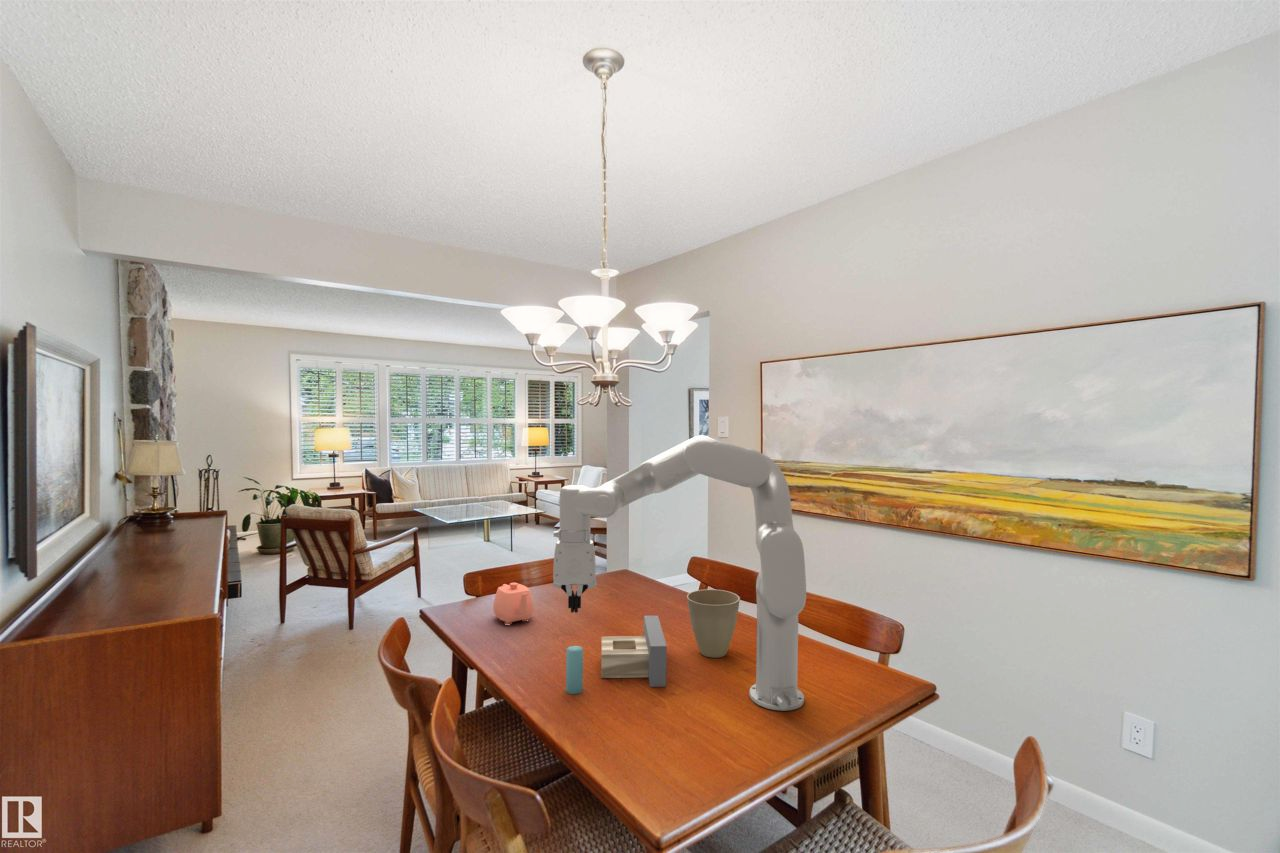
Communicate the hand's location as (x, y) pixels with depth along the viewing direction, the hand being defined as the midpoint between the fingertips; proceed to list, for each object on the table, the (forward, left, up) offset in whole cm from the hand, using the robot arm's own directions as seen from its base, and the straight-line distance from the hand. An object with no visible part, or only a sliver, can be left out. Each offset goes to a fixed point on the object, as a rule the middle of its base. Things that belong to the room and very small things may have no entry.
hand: (574, 610), depth 137 cm
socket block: (+10, -13, -19) cm, 25 cm away
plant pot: (+19, -38, -19) cm, 47 cm away
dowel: (-2, 0, -19) cm, 19 cm away
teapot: (+47, +22, -19) cm, 56 cm away
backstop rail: (+10, -21, -19) cm, 30 cm away
